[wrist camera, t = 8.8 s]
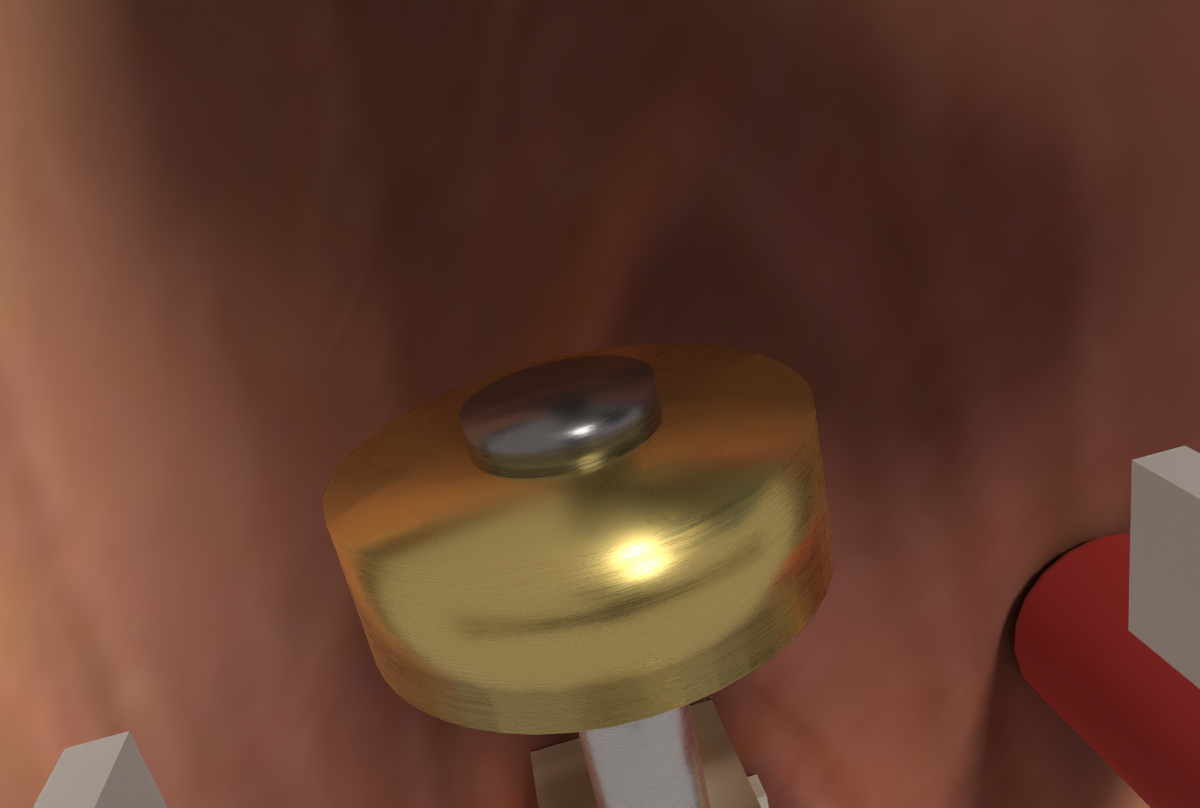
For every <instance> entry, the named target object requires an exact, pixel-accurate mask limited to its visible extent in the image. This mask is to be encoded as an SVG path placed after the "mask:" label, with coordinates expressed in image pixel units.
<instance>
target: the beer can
mask: <svg viewBox="0 0 1200 808" xmlns="http://www.w3.org/2000/svg"><path fill="white" fill-rule="evenodd" d="M1129 574H1130V533H1119V534H1114V535H1109V536H1105V537H1100V538H1095V539H1092V540H1090V541H1088V542H1086V543H1084V544H1082V545H1080V546H1078V547H1076V548H1074V549H1072V550H1070V551H1068V552H1066V553H1065V554H1064V555H1062V556H1061V557H1060V558H1059V559H1058V560H1057V561H1055V562H1054V563H1053V564H1052V565H1051V566H1050V567H1049V568H1047V569H1046V570H1045V571H1044V572H1043V573H1042V574H1041V576H1040V577H1039V578H1038V580H1037V581H1036V583H1035V584H1034V585H1033V587H1032V588H1031V590H1030V591H1029V592H1028V594H1027V595H1026V597H1025V600H1024V602H1023V605H1022V608H1021V610H1020V613H1019V616H1018V618H1017V621H1016V626H1015V648H1014V651H1015V655H1016V658H1017V661H1018V664H1019V667H1020V670H1021V673H1022V675H1023V678H1024V679H1025V680H1026V681H1027V682H1028V683H1029V684H1030V685H1031V687H1032V688H1033V689H1034V690H1035V691H1036V692H1037V693H1038V694H1039V695H1040V696H1041V697H1042V698H1043V699H1044V700H1045V701H1046V702H1047V703H1048V704H1049V705H1050V706H1051V707H1052V708H1053V709H1054V710H1055V711H1056V712H1057V713H1058V714H1059V715H1060V716H1061V717H1062V718H1063V719H1064V720H1065V721H1066V722H1067V723H1068V724H1069V725H1070V726H1071V727H1072V728H1073V729H1074V730H1075V731H1076V732H1077V733H1078V734H1079V736H1080V737H1081V738H1082V739H1083V740H1084V741H1085V742H1086V743H1087V744H1088V745H1089V746H1090V747H1091V748H1092V749H1093V750H1094V751H1095V752H1096V753H1097V754H1098V755H1099V756H1100V757H1101V758H1102V759H1103V760H1104V761H1105V762H1106V763H1107V764H1108V765H1109V766H1110V767H1111V768H1112V769H1113V770H1114V771H1115V772H1116V773H1117V774H1118V775H1119V776H1120V777H1121V778H1122V779H1123V780H1124V781H1125V782H1126V783H1127V784H1128V785H1129V786H1130V787H1131V788H1132V789H1133V790H1134V791H1135V792H1136V793H1137V794H1138V795H1139V796H1140V797H1141V798H1142V799H1143V800H1144V801H1145V802H1146V803H1147V804H1148V805H1149V806H1150V807H1151V808H1200V689H1199V688H1198V687H1197V686H1196V685H1194V684H1193V683H1192V682H1191V681H1189V680H1188V679H1187V678H1186V677H1185V676H1183V675H1182V674H1181V673H1180V672H1179V671H1177V670H1176V669H1175V668H1174V667H1172V666H1171V665H1170V664H1169V663H1168V662H1166V661H1165V660H1164V659H1163V658H1162V657H1160V656H1159V655H1158V654H1157V653H1155V652H1154V651H1153V650H1152V649H1151V648H1149V647H1148V646H1147V645H1146V644H1145V643H1143V642H1142V641H1141V640H1140V639H1138V638H1137V637H1136V636H1135V635H1134V634H1132V633H1131V632H1130V631H1129V630H1128V623H1129Z"/></svg>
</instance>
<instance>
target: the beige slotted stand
mask: <svg viewBox="0 0 1200 808" xmlns="http://www.w3.org/2000/svg"><path fill="white" fill-rule="evenodd" d="M747 778H748V780H749V782H750V784H751V787H752V789H753V791H754V793H755V795H756V797H757V800H758V802H759V804H760V806H761V808H769V806H768V801H767V795H766V793H765V791H764V789H763V787H762V785H761V783H760V781H759V778H758V776H757V774H755V775H752V776H749V777H747Z"/></svg>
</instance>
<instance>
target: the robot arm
mask: <svg viewBox="0 0 1200 808" xmlns="http://www.w3.org/2000/svg"><path fill="white" fill-rule="evenodd" d="M1128 630H1129V631H1130V632H1131V633H1132V634H1134V635H1135V636H1136V637H1137V638H1138V639H1140V640H1141V641H1142V642H1143V643H1145V644H1146V645H1147V646H1148V647H1149V648H1151V649H1152V650H1153V651H1154V652H1155V653H1157V654H1158V655H1159V656H1160V657H1162V658H1163V659H1164V660H1165V661H1166V662H1168V663H1169V664H1170V665H1171V666H1172V667H1174V668H1175V669H1176V670H1177V671H1179V672H1180V673H1181V674H1182V675H1183V676H1185V677H1186V678H1187V679H1188V680H1189V681H1191V682H1192V683H1193V684H1194V685H1196V686H1197V687H1198V688H1199V689H1200V453H1198V452H1197V451H1195V450H1193V449H1191V448H1189V447H1187V446H1181V447H1178V448H1174V449H1170V450H1167V451H1163V452H1159V453H1156V454H1152V455H1148V456H1144V457H1141V458H1137V459H1133V460H1132V476H1131V525H1130V574H1129V623H1128ZM33 808H168V807H167V805H166V803H165V801H164V799H163V797H162V795H161V793H160V791H159V789H158V787H157V785H156V783H155V781H154V779H153V777H152V775H151V773H150V771H149V769H148V767H147V765H146V763H145V761H144V759H143V757H142V756H141V754H140V752H139V750H138V748H137V746H136V744H135V742H134V740H133V738H132V736H131V734H130V732H129V731H128V732H124V733H120V734H117V735H113V736H109V737H105V738H102V739H98V740H94V741H91V742H87V743H83V744H80V745H76V746H72V747H68V748H65V749H64V751H63V753H62V755H61V756H60V758H59V760H58V762H57V764H56V766H55V768H54V769H53V771H52V773H51V775H50V777H49V779H48V781H47V782H46V784H45V786H44V788H43V790H42V792H41V794H40V795H39V797H38V799H37V801H36V803H35V805H34V807H33Z"/></svg>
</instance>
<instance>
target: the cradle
mask: <svg viewBox="0 0 1200 808" xmlns="http://www.w3.org/2000/svg"><path fill="white" fill-rule="evenodd" d="M690 711H691V716H692V721H693V726H694V730H695V735H696V740H697V745H698V750H699V754H700V759H701V764H702V769H703V774H704V778H705V783H706V788H707V793H708V798H709V803H710V807H711V808H761V806H760V804H759V802H758V800H757V797H756V795H755V793H754V791H753V789H752V787H751V784H750V782H749V780H748V778H747V776H746V773H745V771H744V769H743V767H742V765H741V762H740V760H739V758H738V756H737V754H736V751H735V749H734V747H733V745H732V743H731V740H730V738H729V736H728V734H727V732H726V730H725V727H724V725H723V723H722V721H721V719H720V716H719V714H718V712H717V710H716V708H715V705H714V703H713V701H712V699H711V700H708V701H705V702H701V703H698V704H694V705H691V706H690ZM530 755H531V762H532V768H533V775H534V782H535V788H536V795H537V801H538V808H598V805H597V802H596V798H595V794H594V790H593V787H592V783H591V779H590V775H589V771H588V768H587V764H586V760H585V756H584V753H583V749H582V745H581V741H580V738H577V739H574V740H571V741H567V742H564V743H560V744H557V745H553V746H550V747H547V748H543V749H540V750H536V751H533V752H530Z"/></svg>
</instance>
